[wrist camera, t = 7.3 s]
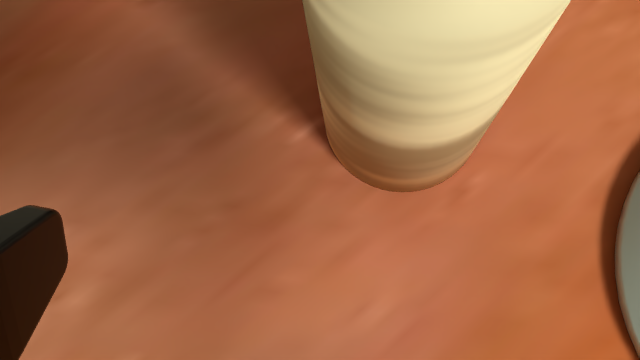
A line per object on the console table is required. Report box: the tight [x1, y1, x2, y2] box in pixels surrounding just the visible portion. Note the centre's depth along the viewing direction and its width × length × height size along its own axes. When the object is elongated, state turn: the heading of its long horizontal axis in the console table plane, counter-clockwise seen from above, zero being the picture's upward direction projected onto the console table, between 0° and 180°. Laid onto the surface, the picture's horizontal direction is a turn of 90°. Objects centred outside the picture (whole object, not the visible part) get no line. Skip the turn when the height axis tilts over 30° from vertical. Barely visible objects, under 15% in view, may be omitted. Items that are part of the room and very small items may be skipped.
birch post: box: [302, 0, 571, 192], centre depth 16 cm, size 6×6×12 cm
